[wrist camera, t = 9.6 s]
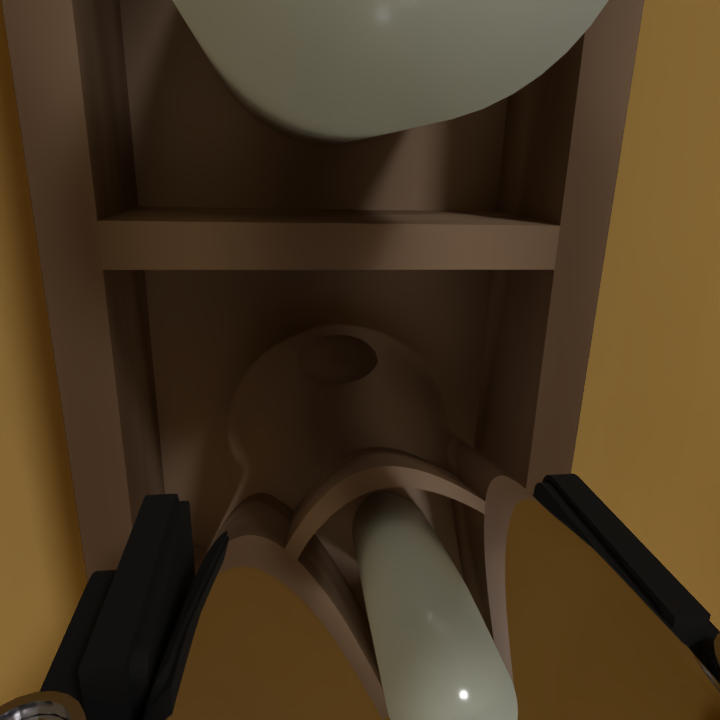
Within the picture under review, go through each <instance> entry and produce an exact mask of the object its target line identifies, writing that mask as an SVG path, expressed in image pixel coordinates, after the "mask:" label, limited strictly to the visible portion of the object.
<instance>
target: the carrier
mask: <svg viewBox="0 0 720 720" xmlns="http://www.w3.org/2000/svg"><path fill="white" fill-rule="evenodd" d="M643 5H644V0H609V1H608V2H607V3H606V5H605V6H604V8H603V9H602V10H601V12H600V13H599V15H598V16H597V17H596V19H595V20H594V22H593V23H592V25H591V26H590V27H589V28H588V29H587V30H586V32H585V33H584V34H583V35H582V36H581V37H580V38H579V39H578V40H577V42H576V43H575V44H574V45H573V46H572V47H571V48H570V49H569V51H568V52H567V53H566V54H564V55H563V56H562V57H561V58H560V59H559V60H558V61H556V62H555V63H554V64H553V65H552V66H551V67H550V68H548V69H547V70H546V71H545V72H544V73H543V74H542V75H540V76H539V77H538V78H536V79H535V80H533V81H532V82H530V83H529V84H527V85H526V86H524V87H523V88H521V89H520V90H518V91H517V92H515V93H514V94H512V95H510V96H508V97H506V98H504V99H502V100H500V101H498V102H496V103H494V104H492V105H490V106H488V107H486V108H484V109H481V110H478V111H475V112H472V113H469V114H466V115H463V116H460V117H457V118H454V119H450V120H446V121H442V122H437V123H433V124H428V125H424V126H420V127H415V128H411V129H407V130H402V131H398V132H393V133H389V134H385V135H380V136H376V137H371V138H367V139H363V140H358V141H353V142H348V143H342V144H318V143H309V142H305V141H301V140H297V139H294V138H291V137H288V136H286V135H283V134H281V133H279V132H277V131H275V130H273V129H271V128H269V127H268V126H266V125H264V124H263V123H262V122H260V121H259V120H258V119H256V118H255V117H253V116H252V115H251V114H250V113H249V112H248V111H247V110H246V109H245V108H243V107H242V106H241V105H240V104H239V103H238V102H237V100H236V99H235V98H234V97H233V96H232V94H231V93H230V92H229V91H228V90H227V88H226V86H225V85H224V83H223V82H222V80H221V79H220V77H219V76H218V74H217V73H216V71H215V69H214V68H213V66H212V64H211V63H210V61H209V59H208V58H207V56H206V55H205V53H204V51H203V50H202V48H201V46H200V45H199V43H198V41H197V40H196V38H195V37H194V35H193V33H192V32H191V30H190V28H189V27H188V25H187V23H186V22H185V20H184V19H183V17H182V15H181V14H180V12H179V10H178V9H177V7H176V5H175V4H174V2H173V1H172V0H2V7H3V14H4V21H5V27H6V34H7V41H8V48H9V54H10V61H11V68H12V75H13V81H14V88H15V95H16V102H17V108H18V115H19V122H20V129H21V135H22V142H23V149H24V156H25V162H26V169H27V176H28V183H29V190H30V196H31V203H32V210H33V217H34V223H35V230H36V237H37V244H38V250H39V257H40V264H41V271H42V277H43V284H44V291H45V298H46V304H47V311H48V318H49V325H50V331H51V338H52V345H53V352H54V358H55V365H56V372H57V379H58V385H59V392H60V399H61V406H62V412H63V419H64V426H65V433H66V440H67V446H68V453H69V460H70V467H71V473H72V480H73V487H74V494H75V500H76V507H77V514H78V521H79V527H80V534H81V541H82V548H83V554H84V561H85V568H86V575H87V581H89V579H90V577H91V575H92V574H93V573H94V572H95V571H104V570H117V567H118V565H119V562H120V559H121V557H122V554H123V552H124V549H125V546H126V544H127V541H128V539H129V536H130V533H131V531H132V528H133V526H134V523H135V520H136V518H137V515H138V513H139V510H140V507H141V505H142V502H143V499H144V497H145V496H146V495H156V494H176V493H177V495H178V497H179V501H189V504H190V513H191V526H192V539H193V552H194V565H195V576H196V574H197V571H198V569H199V567H200V565H201V563H202V560H203V558H204V556H205V554H206V552H207V549H208V547H209V545H210V543H211V541H212V539H213V537H214V535H215V532H216V530H217V528H218V526H219V524H220V522H221V520H222V518H223V516H224V514H225V511H226V509H227V507H228V505H229V502H230V500H231V498H232V495H233V493H234V490H235V485H236V481H235V477H234V473H233V470H232V466H231V462H230V457H229V452H228V445H227V420H228V413H229V408H230V405H231V401H232V398H233V396H234V393H235V391H236V389H237V387H238V385H239V383H240V382H241V380H242V378H243V377H244V375H245V374H246V373H247V371H248V370H249V369H250V367H251V366H252V365H253V364H254V363H255V362H256V360H257V359H258V358H259V357H260V356H262V355H263V354H264V353H265V352H266V351H267V350H269V349H270V348H271V347H273V346H274V345H276V344H277V343H279V342H280V341H282V340H284V339H286V338H287V337H289V336H292V335H294V334H296V333H299V332H301V331H304V330H307V329H311V328H315V327H320V326H327V325H355V326H361V327H366V328H370V329H374V330H377V331H380V332H383V333H385V334H387V335H390V336H392V337H394V338H395V339H397V340H399V341H400V342H402V343H404V344H405V345H406V346H408V347H409V348H410V349H411V350H413V351H414V352H415V353H416V354H417V355H418V356H419V357H420V358H421V359H422V360H423V362H424V363H425V364H426V365H427V367H428V368H429V370H430V371H431V373H432V374H433V376H434V378H435V380H436V382H437V384H438V386H439V388H440V391H441V394H442V397H443V400H444V403H445V407H446V411H447V416H448V420H449V424H450V427H451V429H452V430H453V432H454V433H455V434H456V435H457V436H459V437H460V438H461V439H462V440H463V441H465V442H466V443H467V444H468V445H469V446H471V447H472V448H473V449H475V450H476V451H477V452H479V453H480V454H481V455H483V456H484V457H485V458H487V459H488V460H489V461H491V462H492V463H493V464H495V465H496V466H497V467H498V468H500V469H501V470H502V471H504V472H505V473H506V474H507V475H509V476H510V477H511V478H513V479H514V480H515V481H516V482H518V483H519V484H520V485H521V486H523V487H524V488H525V489H527V490H528V491H529V492H530V493H532V494H534V488H535V485H536V484H537V483H539V482H542V480H543V478H544V477H545V476H546V475H555V474H571V469H572V462H573V456H574V449H575V443H576V436H577V430H578V423H579V417H580V411H581V404H582V398H583V391H584V385H585V378H586V372H587V365H588V359H589V353H590V346H591V340H592V333H593V327H594V320H595V314H596V307H597V301H598V295H599V288H600V282H601V275H602V269H603V262H604V256H605V249H606V243H607V237H608V230H609V224H610V217H611V211H612V204H613V198H614V191H615V185H616V179H617V172H618V166H619V159H620V153H621V146H622V140H623V133H624V127H625V121H626V114H627V108H628V101H629V95H630V88H631V82H632V76H633V69H634V63H635V56H636V50H637V43H638V37H639V30H640V24H641V18H642V11H643Z"/></svg>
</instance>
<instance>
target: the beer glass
mask: <svg viewBox="0 0 720 720" xmlns="http://www.w3.org/2000/svg"><path fill="white" fill-rule="evenodd" d="M227 445H228V452H229V457H230V462H231V466H232V470H233V473H234V477H235V481H236V485H235V490H234V493H233V495H232V498H231V500H230V502H229V505H228V507H227V509H226V511H225V514H224V516H223V518H222V520H221V522H220V524H219V526H218V528H217V530H216V532H215V535H214V537H213V539H212V541H211V543H210V545H209V547H208V549H207V552H206V554H205V556H204V558H203V560H202V563H201V565H200V567H199V569H198V571H197V574H196V576H195V578H194V580H193V582H192V585H191V587H190V589H189V591H188V593H187V596H186V598H185V600H184V602H183V605H182V607H181V609H180V612H179V615H178V617H177V620H176V623H175V625H174V628H173V631H172V633H171V636H170V638H169V641H168V644H167V646H166V649H165V652H164V654H163V657H162V660H161V662H160V665H159V668H158V670H157V673H156V676H155V678H154V681H153V684H152V686H151V689H150V691H149V694H148V697H147V700H146V703H145V707H144V711H143V714H142V718H141V720H720V683H719V682H718V681H717V679H716V678H715V677H714V676H713V674H712V673H711V672H710V671H709V669H708V668H707V667H706V666H705V664H704V663H703V662H702V661H701V660H700V659H699V658H698V657H697V655H696V654H695V653H694V652H693V651H692V650H691V649H690V648H689V647H688V646H687V644H686V643H685V642H684V641H683V640H682V639H681V638H680V637H679V636H678V635H677V633H676V632H675V631H674V630H673V629H672V628H671V627H670V626H669V625H668V624H667V622H666V621H665V620H664V619H663V618H662V617H661V616H660V615H659V614H658V613H657V611H656V610H655V609H654V608H653V607H652V606H651V605H650V604H649V603H648V602H647V601H646V599H645V598H644V597H643V596H642V595H641V594H640V593H639V592H638V591H637V590H636V588H635V587H634V586H633V585H632V584H631V583H630V582H629V581H628V580H627V579H626V577H625V576H624V575H623V574H622V573H621V572H620V571H619V570H618V569H617V568H616V567H615V566H614V565H613V564H612V563H611V562H610V561H608V560H607V559H606V558H605V557H604V556H603V555H602V554H601V553H600V552H598V551H597V550H596V549H595V548H594V547H593V546H592V545H591V544H590V543H588V542H587V541H586V540H585V539H584V538H583V537H582V536H581V535H580V534H578V533H577V532H576V531H575V530H574V529H573V528H572V527H571V526H569V525H568V524H567V523H566V522H565V521H564V520H563V519H562V518H561V517H559V516H558V515H557V514H556V513H555V512H554V511H553V510H552V509H550V508H549V507H548V506H547V505H546V504H544V503H543V502H542V501H541V500H539V499H538V498H537V497H535V496H534V495H533V494H532V493H530V492H529V491H528V490H527V489H525V488H524V487H523V486H521V485H520V484H519V483H518V482H516V481H515V480H514V479H513V478H511V477H510V476H509V475H507V474H506V473H505V472H504V471H502V470H501V469H500V468H498V467H497V466H496V465H495V464H493V463H492V462H491V461H489V460H488V459H487V458H485V457H484V456H483V455H481V454H480V453H479V452H477V451H476V450H475V449H473V448H472V447H471V446H469V445H468V444H467V443H466V442H465V441H463V440H462V439H461V438H460V437H459V436H457V435H456V434H455V433H454V432H453V430H452V429H451V427H450V424H449V420H448V416H447V411H446V407H445V403H444V400H443V397H442V394H441V391H440V388H439V386H438V384H437V382H436V380H435V378H434V376H433V374H432V373H431V371H430V370H429V368H428V367H427V365H426V364H425V363H424V362H423V360H422V359H421V358H420V357H419V356H418V355H417V354H416V353H415V352H414V351H413V350H411V349H410V348H409V347H408V346H406V345H405V344H404V343H402V342H400V341H399V340H397V339H395V338H394V337H392V336H390V335H387V334H385V333H383V332H380V331H377V330H374V329H370V328H366V327H361V326H355V325H327V326H320V327H315V328H311V329H307V330H304V331H301V332H299V333H296V334H294V335H292V336H289V337H287V338H286V339H284V340H282V341H280V342H279V343H277V344H276V345H274V346H273V347H271V348H270V349H269V350H267V351H266V352H265V353H264V354H263V355H262V356H260V357H259V358H258V359H257V360H256V362H255V363H254V364H253V365H252V366H251V367H250V369H249V370H248V371H247V373H246V374H245V375H244V377H243V378H242V380H241V382H240V383H239V385H238V387H237V389H236V391H235V393H234V396H233V398H232V401H231V405H230V408H229V413H228V420H227Z"/></svg>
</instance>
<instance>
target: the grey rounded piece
mask: <svg viewBox="0 0 720 720" xmlns="http://www.w3.org/2000/svg"><path fill="white" fill-rule="evenodd" d="M172 1H173V2H174V4H175V5H176V7H177V9H178V10H179V12H180V14H181V15H182V17H183V19H184V20H185V22H186V23H187V25H188V27H189V28H190V30H191V32H192V33H193V35H194V37H195V38H196V40H197V41H198V43H199V45H200V46H201V48H202V50H203V51H204V53H205V55H206V56H207V58H208V59H209V61H210V63H211V64H212V66H213V68H214V69H215V71H216V73H217V74H218V76H219V77H220V79H221V80H222V82H223V83H224V85H225V86H226V88H227V90H228V91H229V92H230V93H231V94H232V96H233V97H234V98H235V99H236V100H237V102H238V103H239V104H240V105H241V106H242V107H243V108H245V109H246V110H247V111H248V112H249V113H250V114H251V115H252V116H253V117H255V118H256V119H258V120H259V121H260V122H262V123H263V124H264V125H266V126H268V127H269V128H271V129H273V130H275V131H277V132H279V133H281V134H283V135H286V136H288V137H291V138H294V139H297V140H301V141H305V142H309V143H318V144H342V143H348V142H353V141H358V140H363V139H367V138H371V137H376V136H380V135H385V134H389V133H393V132H398V131H402V130H407V129H411V128H415V127H420V126H424V125H428V124H433V123H437V122H442V121H446V120H450V119H454V118H457V117H460V116H463V115H466V114H469V113H472V112H475V111H478V110H481V109H484V108H486V107H488V106H490V105H492V104H494V103H496V102H498V101H500V100H502V99H504V98H506V97H508V96H510V95H512V94H514V93H515V92H517V91H518V90H520V89H521V88H523V87H524V86H526V85H527V84H529V83H530V82H532V81H533V80H535V79H536V78H538V77H539V76H540V75H542V74H543V73H544V72H545V71H546V70H547V69H548V68H550V67H551V66H552V65H553V64H554V63H555V62H556V61H558V60H559V59H560V58H561V57H562V56H563V55H564V54H566V53H567V52H568V51H569V49H570V48H571V47H572V46H573V45H574V44H575V43H576V42H577V40H578V39H579V38H580V37H581V36H582V35H583V34H584V33H585V32H586V30H587V29H588V28H589V27H590V26H591V25H592V23H593V22H594V20H595V19H596V17H597V16H598V15H599V13H600V12H601V10H602V9H603V8H604V6H605V5H606V3H607V2H608V1H609V0H172Z"/></svg>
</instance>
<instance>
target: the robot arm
mask: <svg viewBox="0 0 720 720" xmlns="http://www.w3.org/2000/svg"><path fill="white" fill-rule="evenodd" d="M533 495H534V496H535V497H537V498H538V499H539V500H541V501H542V502H543V503H544V504H546V505H547V506H548V507H549V508H550V509H552V510H553V511H554V512H555V513H556V514H557V515H558V516H559V517H561V518H562V519H563V520H564V521H565V522H566V523H567V524H568V525H569V526H571V527H572V528H573V529H574V530H575V531H576V532H577V533H578V534H580V535H581V536H582V537H583V538H584V539H585V540H586V541H587V542H588V543H590V544H591V545H592V546H593V547H594V548H595V549H596V550H597V551H598V552H600V553H601V554H602V555H603V556H604V557H605V558H606V559H607V560H608V561H610V562H611V563H612V564H613V565H614V566H615V567H616V568H617V569H618V570H619V571H620V572H621V573H622V574H623V575H624V576H625V577H626V579H627V580H628V581H629V582H630V583H631V584H632V585H633V586H634V587H635V588H636V590H637V591H638V592H639V593H640V594H641V595H642V596H643V597H644V598H645V599H646V601H647V602H648V603H649V604H650V605H651V606H652V607H653V608H654V609H655V610H656V611H657V613H658V614H659V615H660V616H661V617H662V618H663V619H664V620H665V621H666V622H667V624H668V625H669V626H670V627H671V628H672V629H673V630H674V631H675V632H676V633H677V635H678V636H679V637H680V638H681V639H682V640H683V641H684V642H685V643H686V644H687V646H688V647H689V648H690V649H691V650H692V651H693V652H694V653H695V654H696V655H697V657H698V658H699V659H700V660H701V661H702V662H703V663H704V664H705V666H706V667H707V668H708V669H709V671H710V672H711V673H712V674H713V676H714V677H715V678H716V679H717V681H718V682H719V683H720V631H719V630H718V629H717V628H716V627H715V626H714V625H713V624H712V623H711V622H710V621H709V619H710V616H711V615H710V614H709V613H708V612H707V610H706V609H705V608H704V607H703V606H702V605H701V604H700V603H699V602H698V601H697V600H696V599H695V598H694V597H693V596H692V595H691V594H690V593H689V592H688V591H687V590H686V589H685V588H684V586H683V585H682V584H681V583H680V582H679V581H678V580H677V579H676V578H675V577H674V576H673V575H672V574H671V573H670V572H669V571H668V570H667V569H666V568H665V567H664V566H663V565H662V563H661V562H660V561H659V560H658V559H657V558H656V557H655V556H654V555H653V554H652V553H651V552H650V551H649V550H648V549H647V548H646V547H645V546H644V545H643V544H642V543H641V542H640V541H639V539H638V538H637V537H636V536H635V535H634V534H633V533H632V532H631V531H630V530H629V529H628V528H627V527H626V526H625V525H624V524H623V523H622V522H621V521H620V520H619V519H618V518H617V516H616V515H615V514H614V513H613V512H612V511H611V510H610V509H609V508H608V507H607V506H606V505H605V504H604V503H603V502H602V501H601V500H600V499H599V498H598V497H597V496H596V495H595V494H594V492H593V491H592V490H591V489H590V488H589V487H588V486H587V485H586V484H585V483H584V482H583V481H582V480H581V479H580V478H579V477H578V476H577V475H575V474H555V475H546V476H545V477H544V478H543V480H542V482H539V483H537V484H536V485H535V488H534V494H533ZM194 578H195V565H194V552H193V539H192V526H191V513H190V504H189V501H179V497H178V495H177V493H176V494H156V495H146V496H145V497H144V499H143V502H142V505H141V507H140V510H139V513H138V515H137V518H136V520H135V523H134V526H133V528H132V531H131V533H130V536H129V539H128V541H127V544H126V546H125V549H124V552H123V554H122V557H121V559H120V562H119V565H118V567H117V570H104V571H95V572H94V573H93V574H92V575H91V577H90V579H89V581H88V583H87V585H86V588H85V590H84V592H83V594H82V597H81V599H80V601H79V603H78V606H77V608H76V610H75V613H74V615H73V617H72V619H71V622H70V624H69V626H68V628H67V631H66V633H65V635H64V637H63V640H62V642H61V644H60V647H59V649H58V651H57V653H56V656H55V658H54V660H53V662H52V665H51V667H50V669H49V671H48V674H47V676H46V678H45V681H44V683H43V685H42V687H41V690H40V692H35V693H31V694H28V695H24V696H21V697H18V698H15V699H13V700H11V701H10V702H8V703H6V704H4V705H2V706H0V720H141V718H142V714H143V711H144V707H145V703H146V700H147V697H148V694H149V691H150V689H151V686H152V684H153V681H154V678H155V676H156V673H157V670H158V668H159V665H160V662H161V660H162V657H163V654H164V652H165V649H166V646H167V644H168V641H169V638H170V636H171V633H172V631H173V628H174V625H175V623H176V620H177V617H178V615H179V612H180V609H181V607H182V605H183V602H184V600H185V598H186V596H187V593H188V591H189V589H190V587H191V585H192V582H193V580H194Z"/></svg>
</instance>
